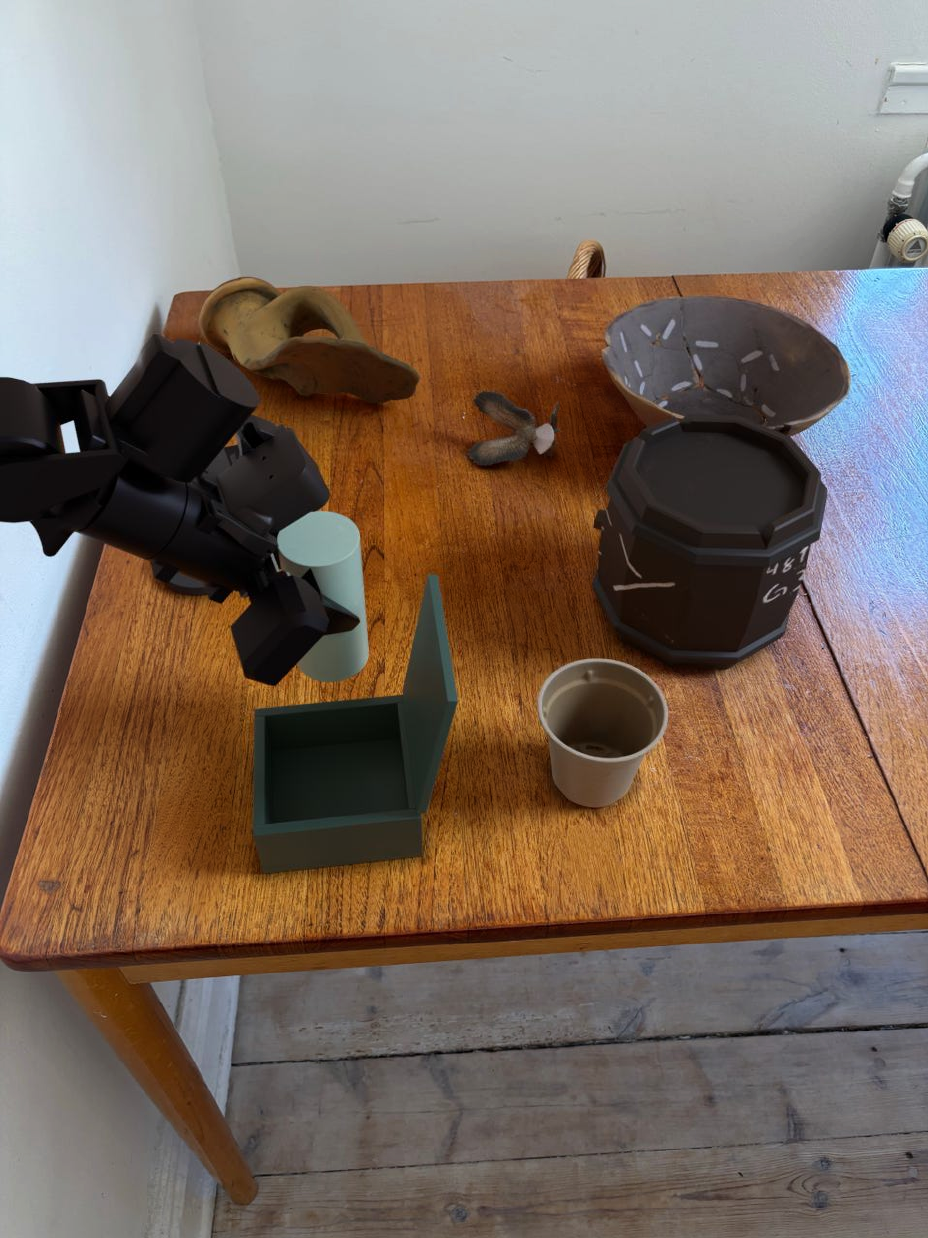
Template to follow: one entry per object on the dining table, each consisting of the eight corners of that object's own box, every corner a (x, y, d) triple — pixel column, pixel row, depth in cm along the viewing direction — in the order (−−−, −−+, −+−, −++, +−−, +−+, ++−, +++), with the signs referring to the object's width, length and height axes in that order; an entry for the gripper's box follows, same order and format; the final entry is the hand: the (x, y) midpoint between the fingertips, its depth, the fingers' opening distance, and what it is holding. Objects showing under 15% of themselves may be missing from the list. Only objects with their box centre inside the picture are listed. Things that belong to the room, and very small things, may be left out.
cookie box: (263, 874, 73) (252, 835, 69) (263, 749, 80) (254, 708, 76) (423, 856, 74) (421, 817, 70) (408, 735, 81) (406, 693, 78)
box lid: (447, 701, 61) (458, 701, 61) (427, 573, 68) (437, 574, 69) (416, 814, 70) (426, 814, 70) (402, 690, 77) (411, 690, 77)
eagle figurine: (550, 415, 110) (469, 402, 108) (568, 390, 103) (482, 376, 101) (544, 482, 108) (462, 470, 107) (563, 461, 101) (475, 448, 100)
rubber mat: (167, 604, 91) (164, 596, 90) (153, 547, 96) (151, 539, 96) (254, 583, 93) (252, 575, 92) (236, 528, 98) (235, 520, 98)
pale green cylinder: (317, 693, 74) (300, 577, 66) (282, 646, 78) (262, 529, 69) (382, 662, 77) (374, 545, 68) (346, 617, 80) (334, 500, 71)
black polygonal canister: (611, 520, 100) (633, 384, 88) (795, 564, 96) (843, 428, 84) (560, 647, 88) (577, 510, 77) (768, 704, 84) (818, 568, 73)
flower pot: (550, 839, 75) (559, 772, 69) (516, 739, 81) (522, 669, 75) (668, 814, 77) (688, 747, 70) (626, 718, 83) (641, 648, 77)
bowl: (861, 497, 102) (893, 415, 95) (626, 520, 100) (640, 438, 92) (772, 361, 119) (793, 283, 112) (568, 377, 117) (577, 298, 109)
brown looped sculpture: (235, 412, 99) (168, 278, 109) (282, 485, 110) (217, 357, 121) (401, 323, 100) (318, 199, 110) (431, 405, 111) (353, 285, 122)
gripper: (275, 518, 54) (465, 610, 65) (206, 341, 66) (376, 443, 77) (157, 654, 57) (355, 719, 68) (111, 463, 69) (286, 544, 80)
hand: (344, 597), depth 73 cm, fingers closed on pale green cylinder, 5 cm apart
